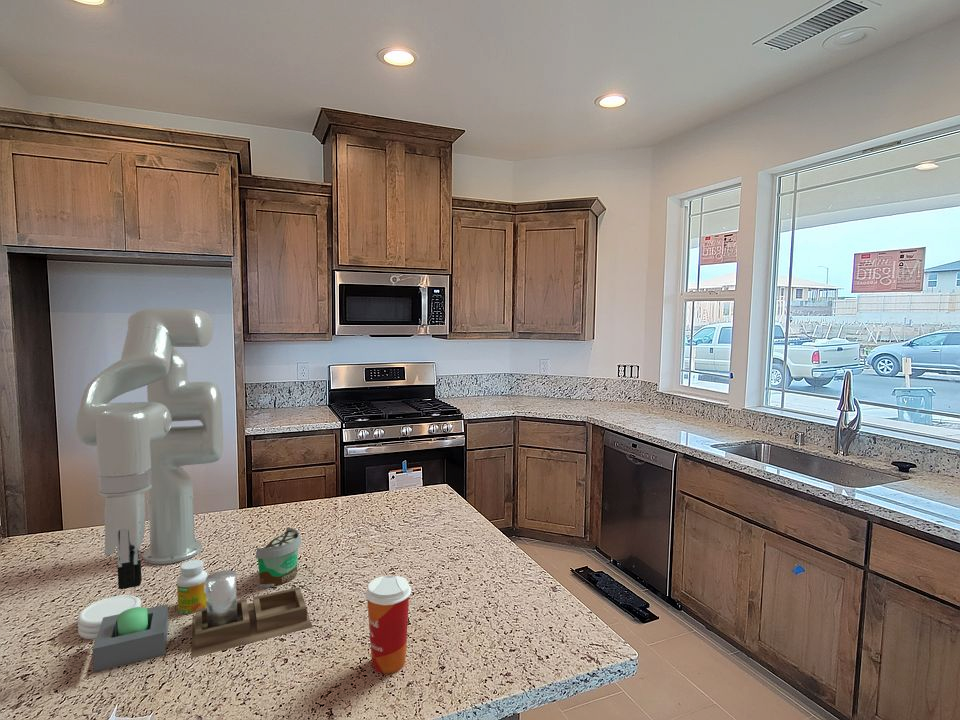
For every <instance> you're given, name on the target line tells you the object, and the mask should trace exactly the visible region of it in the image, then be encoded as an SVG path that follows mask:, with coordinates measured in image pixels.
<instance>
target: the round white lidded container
mask: <svg viewBox="0 0 960 720" xmlns="http://www.w3.org/2000/svg"><path fill="white" fill-rule="evenodd" d="M141 605H142V601H141V599H140V598H139V597H137V596H135V595H131V594H122V595H121V594H120V595H114V596H109V597H106V598H102V599H99V600H97V601H94V602H93V603H91V604H89V605H87V606H86V607H85V608H84V609H82V610H81V611H80V612H79V614H78V616H77V619H76V620H77V633H78V635H79V636H80V637H81V638H83V639H84V640H85V639H86V640H96V637H97V634H98V631H99V628H100V625H101V622H102V620H103V617H108V616H113V615H118V614H120V613H122V612H123V611H125V610H128V609H131V608H135V607H142V606H141Z"/></svg>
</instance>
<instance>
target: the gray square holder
mask: <svg viewBox="0 0 960 720" xmlns="http://www.w3.org/2000/svg"><path fill="white" fill-rule="evenodd" d="M145 608H146V609H147V615H148V630H144V631H140V632H135V633H131V634H126V635H122V636H118V625H117V617H118V615H119V614H118V615H113V616H108V617H103V620H102V622H101V625H100V628H99V631H98V634H97V637H96V639H94V640H95V641H94V644H93V646H92V664H93V673H98V672H102V671H103V672H104V671H106V670H107V671H108V670H111V669H114V668H118V667H122V666H127V665H131V664H134V663H137V662H143V661H146V660H151V659H153V658H158V657H164V656H165V655H166V650H167V644H168V643H167V642H168V633H169V625H170V622H169V621H170V620H169V604H168V603H165V604H162V605H161V604H160V605H156V606H151V607H148V608H147V607H145Z"/></svg>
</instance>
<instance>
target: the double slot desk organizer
mask: <svg viewBox="0 0 960 720" xmlns="http://www.w3.org/2000/svg"><path fill="white" fill-rule="evenodd" d="M252 601H253V602H251V603H248V600H247V598H243V599H239V600H237V622H234V623H230V624H226V625H222V626H217V627H213V628H209V629H208V628H207V607H206V608H202V609H197V610H196V612H195V615H193V616H192V632H191V650H190V651H191V655H190V659H193V658H198V657H202V656H205V655H209V654H214V653H217V652H222V651H225V650H230V649H233V648H237V647H240V646H245V645H249V644H252V643H256V642H260V641H264V640H268V639H272V638H275V637H281V636H284V635H288V634H292V633H295V632H300V631H303V630H307V629H311V628H313V624H312V621H311V618H310V615H309V612H308V608H307V605H306V602H305V599H304V596H303V593H302V590H301V588H300V587H299V586H298V587H294V588H289V589H285V590H280V591H275V592H271V593H267V594H261V595H257V596H253V597H252Z"/></svg>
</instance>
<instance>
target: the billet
mask: <svg viewBox="0 0 960 720" xmlns="http://www.w3.org/2000/svg"><path fill="white" fill-rule="evenodd" d="M237 597H238V596H237V573H236V572H235V571H233V570H228V569H227V570H226V569H225V570H220V571H215V572H213V573H211V574H209V575H208V577H207V578H206V600H207V628H208V629H209V628H213V627H217V626H222V625H226V624H230V623H234V622H237V601H238V600H237Z"/></svg>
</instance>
